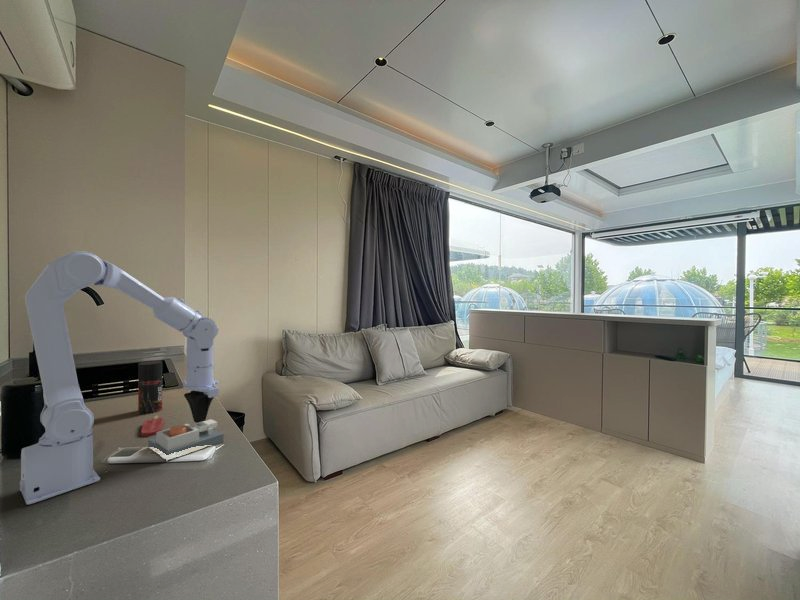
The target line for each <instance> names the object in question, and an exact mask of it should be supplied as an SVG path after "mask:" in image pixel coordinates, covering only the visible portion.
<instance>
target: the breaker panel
mask: <svg viewBox="0 0 800 600" xmlns="http://www.w3.org/2000/svg"><path fill="white" fill-rule="evenodd" d="M183 425H186V433H183V434H180V435H177V436H173V437H170V428H166V429H164V430H161V431H159V432H157V435H156V437H152V438H149V439H148V440H147V441H148V447H154V448H157V449H159V450H160V451H162V452H163V453H165V454H166V455H169V454H171V453H174V452H179V451H182V450H185V449H188V448H191V447H196V446H204V445H213V446H216V445H219V444H223V443H224V433H223V432H220V431H218V430H217V429H214V428H209V429H208V430H205V431H202V432H199V430H198V429H197V428H195V427H194V426H193V425H190V424H189V423H184V424H183Z"/></svg>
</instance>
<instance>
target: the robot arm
mask: <svg viewBox="0 0 800 600" xmlns="http://www.w3.org/2000/svg"><path fill="white" fill-rule="evenodd" d="M91 285H94V286H95V287H102V288H103V287H104V288H110V289H115V290H117V291H119V292H121V293H123V294H124V295H126V296H129V297H130V298H132V299H134V300H136V301H137V302H139V303H141V304H143V305H145V306H146V307H148V308H151V310H152V311H153V315H154V316H153V317H154V318H156V319H157V320H158V321H161V322H163V323H165V324H166V325H168V326H170V327H171V328H173V329H175V330H177V331H178V332H180V333H182V335H183V336H184V337H185V338H186V349H185V350H186V351H185V353H186V357H185V358H186V359H185V360H186V361H185V362H186V363H185V364H186V365H185V367H186V368H185V371H186V372H185V373H186V374H185V375H186V377H185V379H183V380H182V381H183V382H182V388H184V389H185V390H186V391H190V392H186V393H184V394H183V395H184V398H185V400H186V401H187V403H188V405H189V408H190V411H191V415H192V419H193V422H194V423H195V424H196V423H199V422H203V421H207V417H208V412H209V409H210V406H211V404H212V402H213V399H214V398H215V397H218V396H219V395H220V394H219V392H220V391H219V389H220V388H219V387H218V386H217V385H218V384H219V381H218V380H216V379H214V372H215V371H214V366H215V365H214V358H215V357H214V353H215V352H214V351H215V348H214V347H215V346H214V340H215V338H216V337H217V335H218V333H219V330H220V329H219V328H218V327H217V324H216V322H215V320H214V319H211V318H209V317H204V316H202V315H203V312H202V311H201V310H195V309H193V308H192V307H190V306H189V305H187V304H186V303H185V300H184V299H182V298H181V297H177V298H176V297H174V296H170V297H169V296H167V297H163V296H162V295H160V294H158V292H156V291H154V290H153V289H152V288H150V287H148V286H147V285H145V283H142V282H141V281H140V280H138V279H137V278H135V277H134V276H132V275H130V274H129V273H127V272H126V271H124V270H123V269H122V268H119V267H118V266H116V265H115V264H113V263H111V262H109V261H107V260H102V259H101V258H100V257H99V256H97V255H96V254H94V253H92V252H89V251H83V250H81V251H80V250H78V251H76V250H75V251H71V252H69V253H67V254H65V255H62V256H60V257H58V258H57V259H55V260H54V261H51V262H50V263H49V264H47V265H46V266H45V267H44V268H43V270H42V271H41V273H40V274H39V276H37V278H36V279H35V281H34V282H33V284H31V285H30V287H29V288H28V290H27V291H26V292H25V294H24V303H25V307H26V312H27V316H28V317H27V318H28V322H29V327H30V333H31V336H32V337H31V338H32V342H33V347H34V351H35V356H36V357H35V358H36V362H37V366H38V370H39V371H38V372H39V377H40V382H41V386H42V390H43V394H42V395H43V402H44V406H43V408H42V411H41V412H40V414H39V415H40V417H39V419H40V420H39V421H40V423H41V424H42V426H43V427H44V430H45V432H44V433H43V434H42V435H41V437H39V439H38V442H37V443H35V444H32V445H29V446H26V447H23V448H21V453H20V481H19V491H20V492H21V495H22V496H23V499H24V502H25V504H26V506H27V505H32V504H35V503H37V502H41V501H44V500H47V499H50V498H53V497H56V496H58V495H62V494H64V493H67V492H70V491H74V490H77V489H79V488H82V487H86V486H87V485H91V484H94V483H97V482H99V481H101V477H100V475H98V473H97V472H96V471H95V469H94V429H93V428H92V427H93V425H94V422H95V416H94V413H93V412H92V411H91V409H89V407H87V406H86V404H85V403H84V401H85V400H84V397H83V394H82V391H81V388H80V384H79V380H78V375H77V370H76V364H75V360H74V354H73V348H72V345H71V339H70V334H69V329H68V322H67V318H66V317H67V316H66V314H65V308H64V307H65V306H64V304H65V303H66V302H68V300H70V299H71V298H72V297H73V296H74V295H76V294H77V293H78V291H80V290H82V289H84V288H87V287H89V286H91Z"/></svg>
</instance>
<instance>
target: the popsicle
mask: <svg viewBox="0 0 800 600" xmlns="http://www.w3.org/2000/svg"><path fill="white" fill-rule="evenodd" d="M164 424H165V417H159V415H158V414H157V415H154V416H153V418H152V419H145V420H144V421H143V424H142V427H141V430H140V436H141V437H143V438H148V437H154V436H157V432H159V431H163V430H162V429H163V427H164Z"/></svg>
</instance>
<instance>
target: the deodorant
mask: <svg viewBox="0 0 800 600" xmlns="http://www.w3.org/2000/svg"><path fill="white" fill-rule="evenodd" d="M137 365H138V366H137V368H138V371H137V372H138V373H137V376H138V377H137V378H138V380H137V381H138V382H137V383H138V385H137V388H138V391H137V392H138V405H137V406H138V407H137V408H138V409H137V410H138V412H139V413H141V414H140V415H148V414H149V413H150V414H155V413H158V412H161V411H162V410H163V361H162V360H148V361H142V362H139V363H138V364H137ZM160 410H161V411H160ZM138 412H137V413H138ZM154 412H155V413H154ZM139 413H138V414H139Z"/></svg>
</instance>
